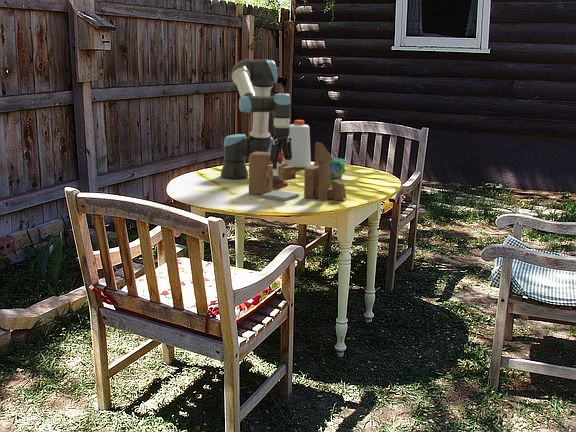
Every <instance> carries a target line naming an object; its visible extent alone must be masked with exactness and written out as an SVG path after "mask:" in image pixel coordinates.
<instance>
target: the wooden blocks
mask: <svg viewBox="0 0 576 432" xmlns="http://www.w3.org/2000/svg"><path fill="white" fill-rule="evenodd" d="M333 158H334V157H333V156H332V154H331V153H330V152H329V151H328V150H327V148H326V146H325V145H324V144H323V143H322V142H319V141H318V142H317V141H315V144H314V163H313V165H312V164H311V166H309V167H307V168H304V173H303V175H304V176H303V178H304V184H303V185H304V186H303V188H304V191H303V196H304V198H311V199H313V198H316V199H317V200H318V201H322V202H323V201H327V200H334V201H342V200H345V199H347V198H348V197H347V192H346V187H345V184H344V183H343V182H342V181H341V180H340V179H334V180H332V181H331V177H330V172H329V161H334V159H333Z"/></svg>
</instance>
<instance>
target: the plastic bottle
mask: <svg viewBox="0 0 576 432" xmlns="http://www.w3.org/2000/svg"><path fill="white" fill-rule="evenodd" d="M293 122H294V123H292V124H290V126H289V128H290V135H289V136H287V137H288V138H291V149H292V158H291V160H289V165H290V166H296V169H305V168H307V167H309V166H312V161H311V158H312V157H311V137H310V136H311V135H310V134H311V133H310V130H311V129H310V126H309V125H308V124H305V120H303V119H295V120H294V121H293Z"/></svg>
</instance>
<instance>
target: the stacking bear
mask: <svg viewBox="0 0 576 432" xmlns="http://www.w3.org/2000/svg"><path fill="white" fill-rule="evenodd" d="M283 160H284V154H283V152H280V154H279V158H278V162H279V164H283ZM288 186H289V183H288V181H282V180H277V179H273V188H285V187H288Z"/></svg>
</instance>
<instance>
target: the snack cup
mask: <svg viewBox="0 0 576 432" xmlns="http://www.w3.org/2000/svg"><path fill="white" fill-rule="evenodd" d="M332 158H333V159H334V161H329V172H330V178H332V179H340V178H342V177H343V174H345V172H346V168H345V164H346V159H345V158H339V157H332Z"/></svg>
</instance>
